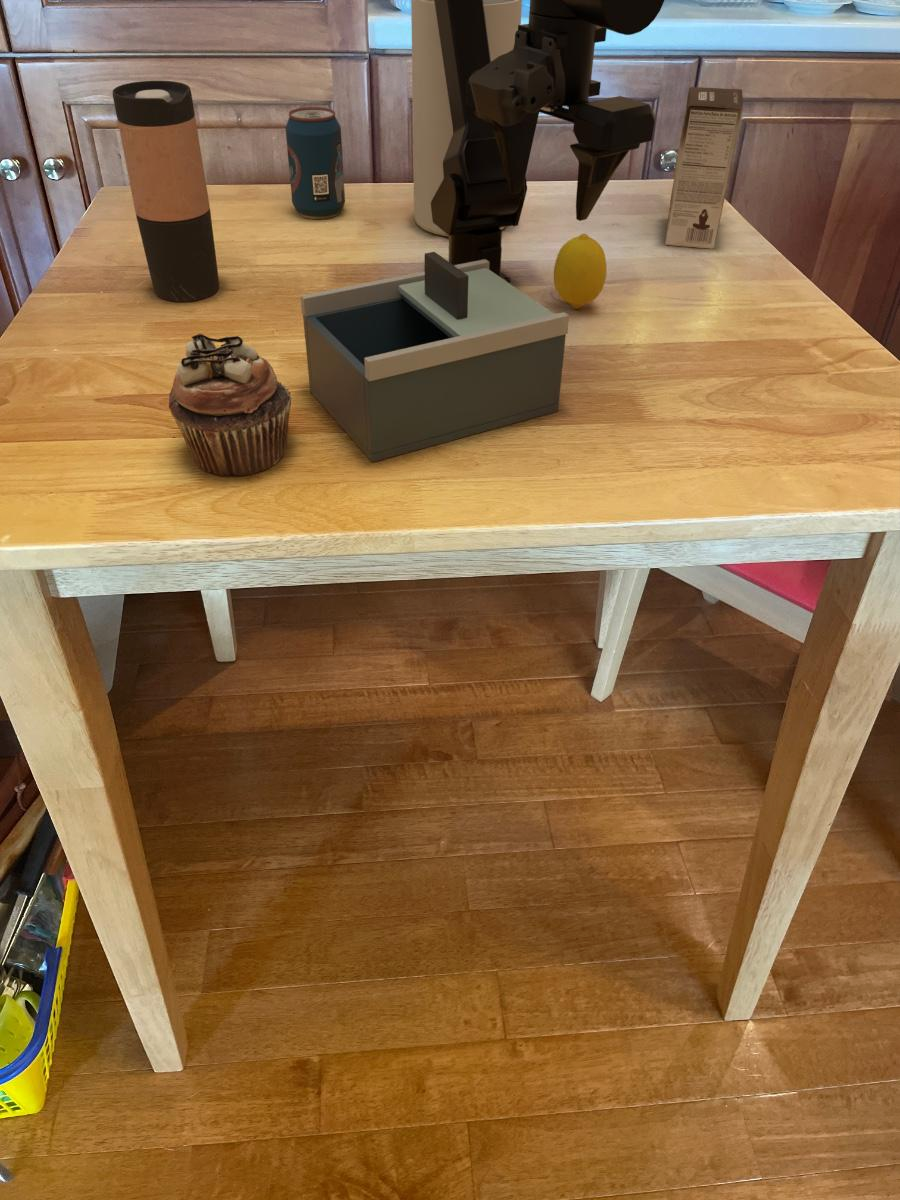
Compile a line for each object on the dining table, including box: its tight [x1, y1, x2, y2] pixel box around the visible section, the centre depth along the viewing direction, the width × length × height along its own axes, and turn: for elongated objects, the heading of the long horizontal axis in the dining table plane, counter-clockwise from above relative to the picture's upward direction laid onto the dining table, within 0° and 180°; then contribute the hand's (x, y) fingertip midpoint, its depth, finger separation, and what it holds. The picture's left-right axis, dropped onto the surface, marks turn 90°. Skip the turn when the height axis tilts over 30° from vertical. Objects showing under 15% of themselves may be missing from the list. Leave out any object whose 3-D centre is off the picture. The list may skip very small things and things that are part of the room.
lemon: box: [553, 233, 607, 310], centre depth 98 cm, size 6×6×8 cm
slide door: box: [398, 251, 555, 337], centre depth 80 cm, size 12×9×4 cm
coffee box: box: [664, 86, 744, 250], centre depth 113 cm, size 9×6×16 cm
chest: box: [299, 259, 570, 463], centre depth 82 cm, size 14×19×9 cm
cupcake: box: [168, 333, 292, 477], centre depth 75 cm, size 10×10×10 cm
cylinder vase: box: [410, 0, 523, 238], centre depth 112 cm, size 12×12×25 cm
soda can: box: [285, 106, 346, 220], centre depth 119 cm, size 7×7×12 cm
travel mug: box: [112, 80, 220, 303], centre depth 97 cm, size 8×8×20 cm
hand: (547, 205), depth 87 cm, fingers open, 9 cm apart
